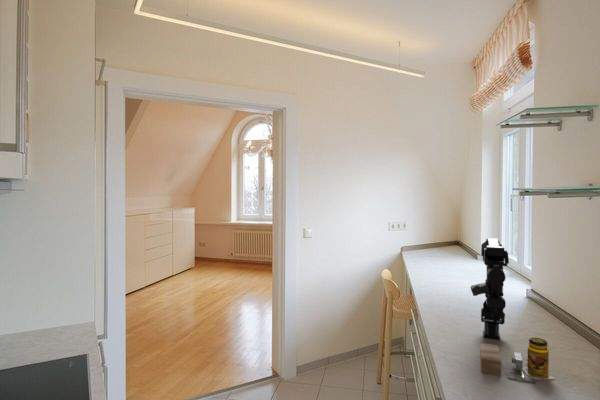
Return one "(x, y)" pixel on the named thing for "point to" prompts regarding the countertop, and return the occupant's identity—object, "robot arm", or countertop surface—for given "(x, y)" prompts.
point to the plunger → (517, 362)
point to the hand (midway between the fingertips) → (494, 317)
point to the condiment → (537, 359)
